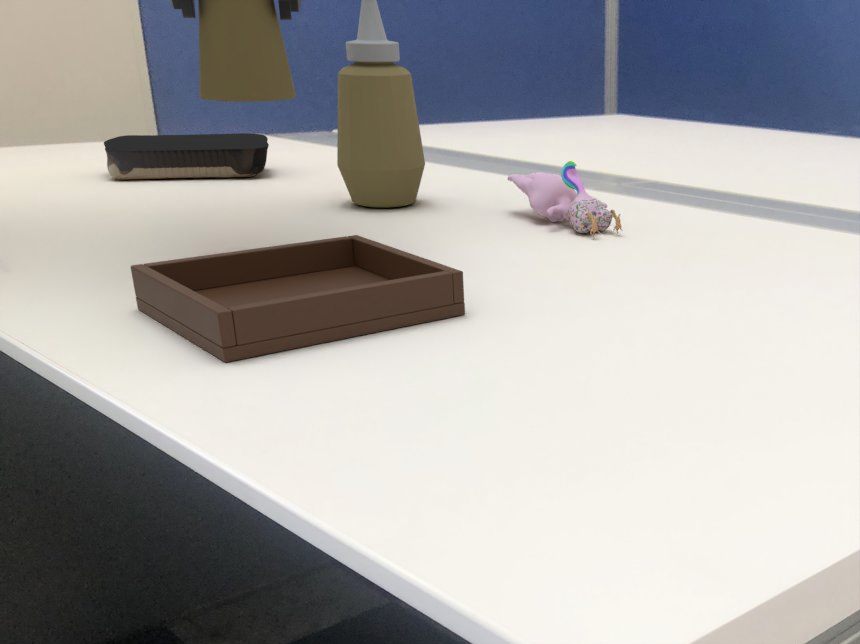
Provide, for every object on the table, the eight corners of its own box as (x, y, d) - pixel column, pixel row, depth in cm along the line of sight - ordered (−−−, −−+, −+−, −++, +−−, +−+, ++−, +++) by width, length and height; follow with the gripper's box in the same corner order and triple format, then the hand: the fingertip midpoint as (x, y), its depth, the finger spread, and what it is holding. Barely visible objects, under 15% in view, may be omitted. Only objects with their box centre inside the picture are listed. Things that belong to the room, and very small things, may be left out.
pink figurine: (634, 247, 92) (543, 193, 102) (642, 180, 89) (547, 130, 99) (574, 256, 89) (486, 199, 98) (581, 186, 86) (488, 134, 95)
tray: (225, 362, 58) (217, 313, 57) (137, 309, 67) (129, 265, 66) (465, 314, 68) (463, 271, 66) (360, 273, 77) (357, 234, 75)
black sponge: (272, 167, 120) (268, 133, 119) (268, 178, 113) (263, 142, 111) (117, 169, 116) (110, 134, 115) (101, 182, 109) (94, 145, 107)
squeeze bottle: (445, 202, 103) (434, -2, 95) (387, 215, 96) (370, -2, 89) (382, 193, 106) (367, -4, 99) (322, 205, 100) (301, -5, 93)
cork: (180, 98, 68) (150, -97, 63) (233, 91, 73) (210, -90, 68) (265, 103, 67) (241, -95, 62) (313, 95, 72) (295, -89, 67)
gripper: (87, -255, 66) (96, -43, 61) (326, -235, 70) (354, -35, 65) (113, -148, 73) (124, 51, 67) (330, -135, 77) (356, 53, 71)
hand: (237, 8), depth 66 cm, fingers closed on cork, 5 cm apart
